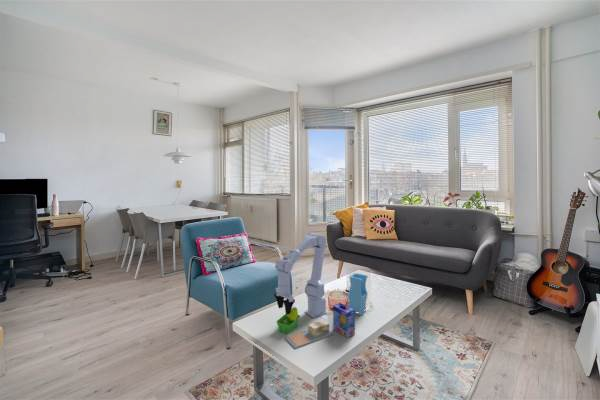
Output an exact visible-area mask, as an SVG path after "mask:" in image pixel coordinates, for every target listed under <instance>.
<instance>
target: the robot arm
mask: <svg viewBox="0 0 600 400" xmlns="http://www.w3.org/2000/svg"><path fill="white" fill-rule="evenodd" d="M326 245H327V237H326V236H325V235H324V234H321V233H315V232H311V231H310V232H307V234H305V235H304V239H303V240H302V241H301V243H299V245H298V246H297V247H296V248H292V249H290V250H289V251H288V252H287V253H286V254H285V255H284V256H283V257H282V258H279V259H278V260H276V262H275V265H274V266H275V269H276V271H277V272H276V273H277V287H275V292H276V293H275V292H274V294H273V297H275V299H276V302H277V306H278V307H277V308H278V309H282V308H283V307H284V311H285V314H290V313H291V309H292V308H293V307H294V304H295V303H296V302H295V301H296V299H294V296H293V295H292V293H291V271H292V270H293V267H294V264H295V263H297V262H298V260H299V259H301V255H302V253H304V252H306V250H307V249H308V248H309V247H312V248H313V250H314V254H313V260H312V267H311V277H310V279H308V280H307V281H306V285H305V286H304V293H305V295H306V297H307V310H304V313H306V314H307V315H308V316H310V317H311V318H317V317H319V316H323V315H325V314H327V310H326V309H327V307H326V303H327V301H326V300H327V299H326V298H325V296H324V295H325V284H324V282H323V281H322V279H321V278H322V273H323V265H324V259H325V253H326V252H325V250H326V247H327V246H326Z"/></svg>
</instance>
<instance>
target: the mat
mask: <svg viewBox="0 0 600 400" xmlns="http://www.w3.org/2000/svg"><path fill="white" fill-rule="evenodd" d="M333 335H334V333H333V332H332V331H330V330H329V332H327V333H324V334H321V335H318V336H316V337H313V336H312V335H310V334H309V333H308V329H306V330H302V331H300V332H297V333H294V334H291V335H287V336H285V337H284V339H285V341H287V342H288V343H289V344H290V346H292V347H293V348H294V349H295V350H296V349H299V348H302V347H304V346H307V345H309V344H312V343H314V342H317V341H320V340H323V339H325V338H328V337H331V336H333Z"/></svg>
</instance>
